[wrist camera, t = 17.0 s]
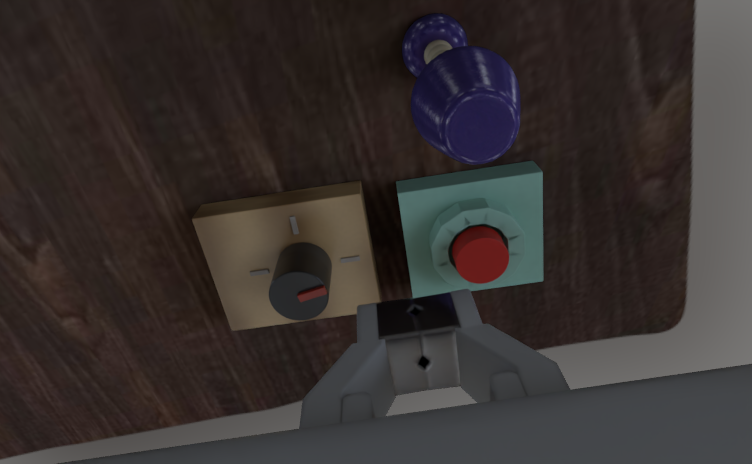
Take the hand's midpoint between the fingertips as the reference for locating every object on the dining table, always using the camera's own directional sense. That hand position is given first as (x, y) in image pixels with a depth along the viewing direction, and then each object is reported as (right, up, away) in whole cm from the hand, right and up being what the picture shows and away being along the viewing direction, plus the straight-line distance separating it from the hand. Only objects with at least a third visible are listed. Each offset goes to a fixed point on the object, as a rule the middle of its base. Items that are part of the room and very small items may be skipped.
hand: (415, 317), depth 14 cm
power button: (+6, +1, +23) cm, 23 cm away
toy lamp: (+3, +14, +20) cm, 25 cm away
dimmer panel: (-7, +1, +27) cm, 28 cm away
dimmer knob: (-6, 0, +24) cm, 25 cm away
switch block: (+6, +3, +26) cm, 27 cm away
